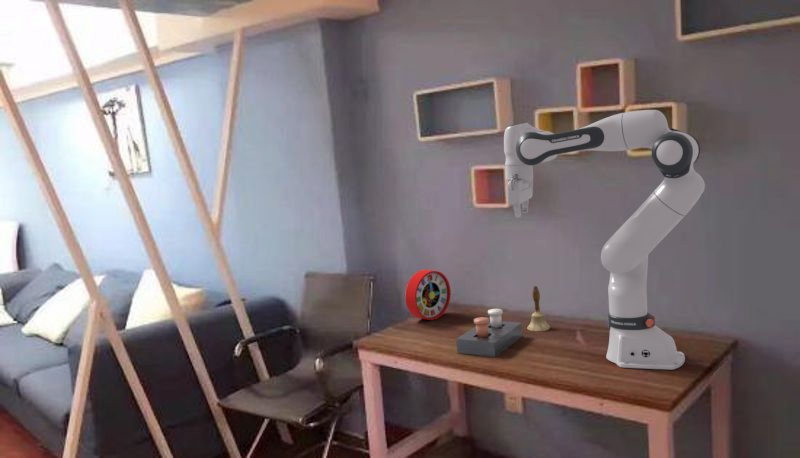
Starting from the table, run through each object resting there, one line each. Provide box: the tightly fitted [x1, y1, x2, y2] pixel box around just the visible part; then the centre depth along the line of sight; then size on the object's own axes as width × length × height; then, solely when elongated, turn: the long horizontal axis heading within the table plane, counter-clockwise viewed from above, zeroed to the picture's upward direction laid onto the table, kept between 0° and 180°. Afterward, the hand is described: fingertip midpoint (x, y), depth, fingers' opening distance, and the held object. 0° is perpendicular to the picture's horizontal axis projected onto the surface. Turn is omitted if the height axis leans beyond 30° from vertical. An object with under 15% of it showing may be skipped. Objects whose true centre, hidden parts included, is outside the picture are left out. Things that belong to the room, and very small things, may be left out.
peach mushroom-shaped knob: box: [473, 316, 490, 338], centre depth 219 cm, size 5×5×6 cm
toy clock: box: [404, 269, 452, 321], centre depth 263 cm, size 20×6×20 cm, turn 131°
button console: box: [455, 319, 523, 358], centre depth 224 cm, size 14×23×5 cm, turn 147°
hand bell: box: [527, 285, 551, 333], centre depth 236 cm, size 8×8×16 cm
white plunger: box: [487, 308, 504, 328], centre depth 228 cm, size 5×5×6 cm
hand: (521, 215), depth 212 cm, fingers open, 8 cm apart
